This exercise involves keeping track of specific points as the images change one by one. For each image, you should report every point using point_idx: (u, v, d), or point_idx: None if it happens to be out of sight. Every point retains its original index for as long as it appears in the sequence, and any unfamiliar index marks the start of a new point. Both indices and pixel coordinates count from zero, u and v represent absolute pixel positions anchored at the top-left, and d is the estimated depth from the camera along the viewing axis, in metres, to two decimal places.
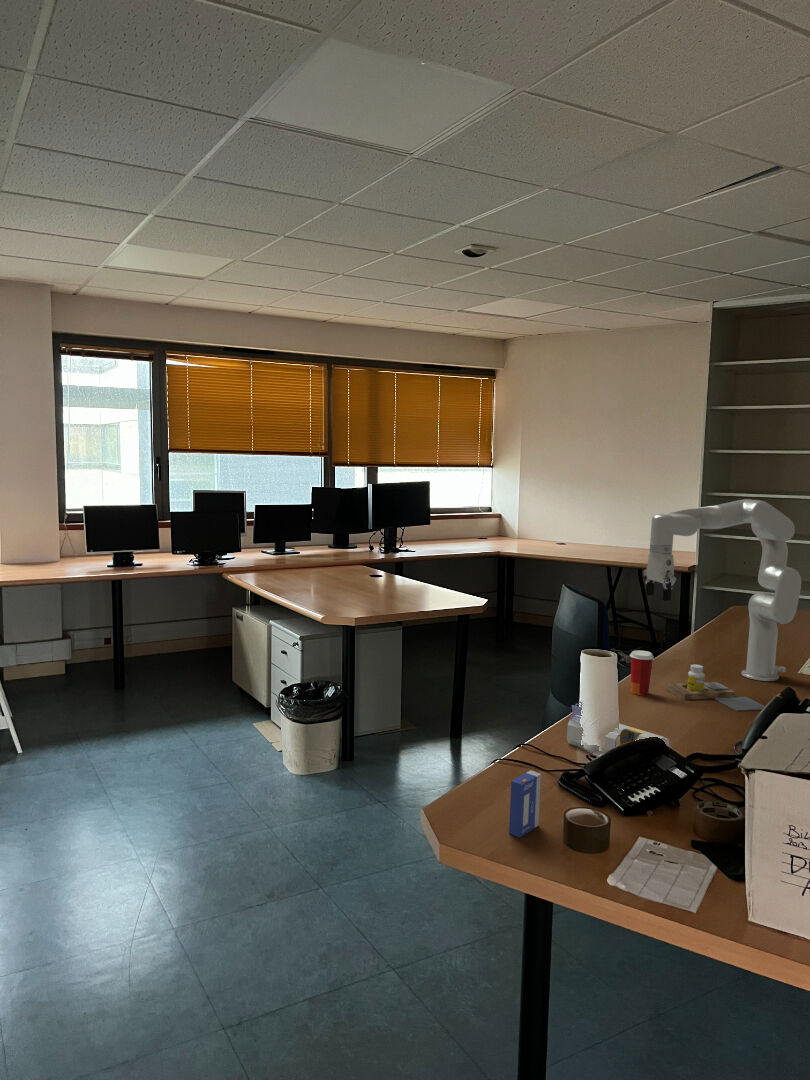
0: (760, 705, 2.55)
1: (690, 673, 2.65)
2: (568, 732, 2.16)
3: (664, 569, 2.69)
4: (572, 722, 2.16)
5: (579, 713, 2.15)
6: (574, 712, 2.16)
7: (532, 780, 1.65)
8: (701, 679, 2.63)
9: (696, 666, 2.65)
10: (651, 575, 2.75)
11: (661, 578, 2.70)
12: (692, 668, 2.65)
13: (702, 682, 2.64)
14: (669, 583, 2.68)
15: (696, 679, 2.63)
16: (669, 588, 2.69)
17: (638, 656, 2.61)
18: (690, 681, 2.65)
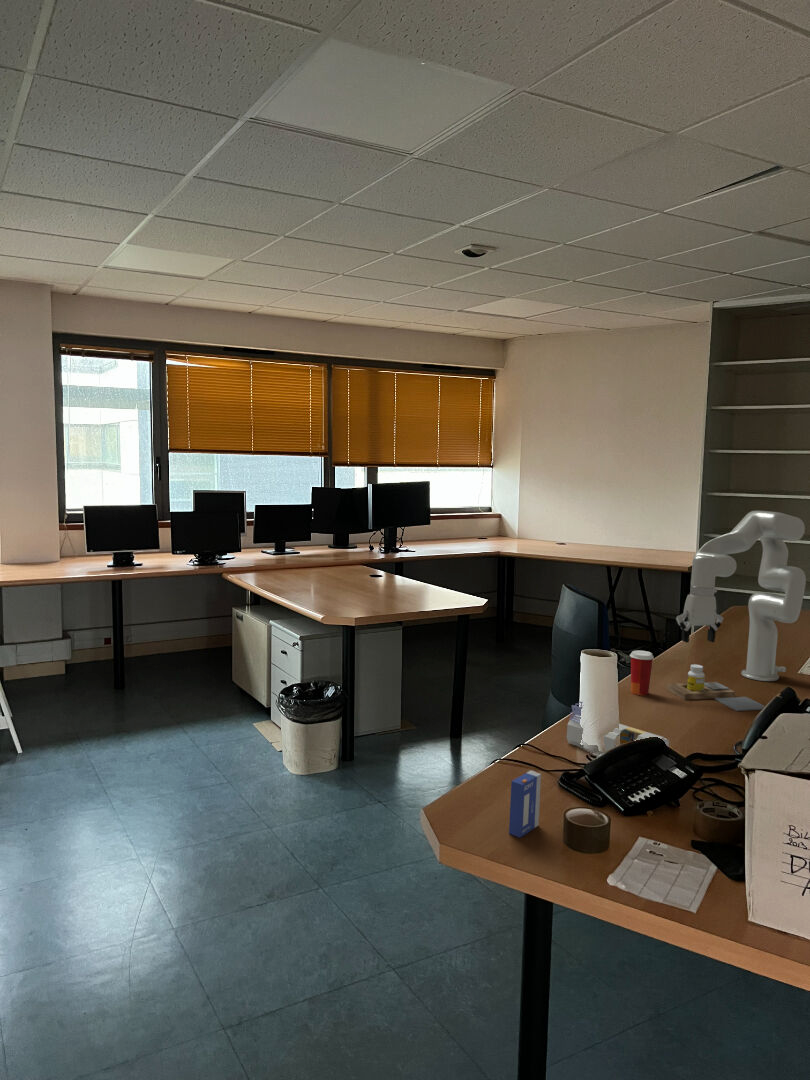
0: (760, 705, 2.55)
1: (690, 673, 2.65)
2: (568, 732, 2.16)
3: None
4: (572, 722, 2.16)
5: (579, 713, 2.15)
6: (574, 712, 2.16)
7: (532, 780, 1.65)
8: (701, 679, 2.63)
9: (696, 666, 2.65)
10: (700, 620, 2.61)
11: (714, 620, 2.62)
12: (692, 668, 2.65)
13: (702, 682, 2.64)
14: (719, 623, 2.64)
15: (696, 679, 2.63)
16: None
17: (638, 656, 2.61)
18: (690, 681, 2.65)
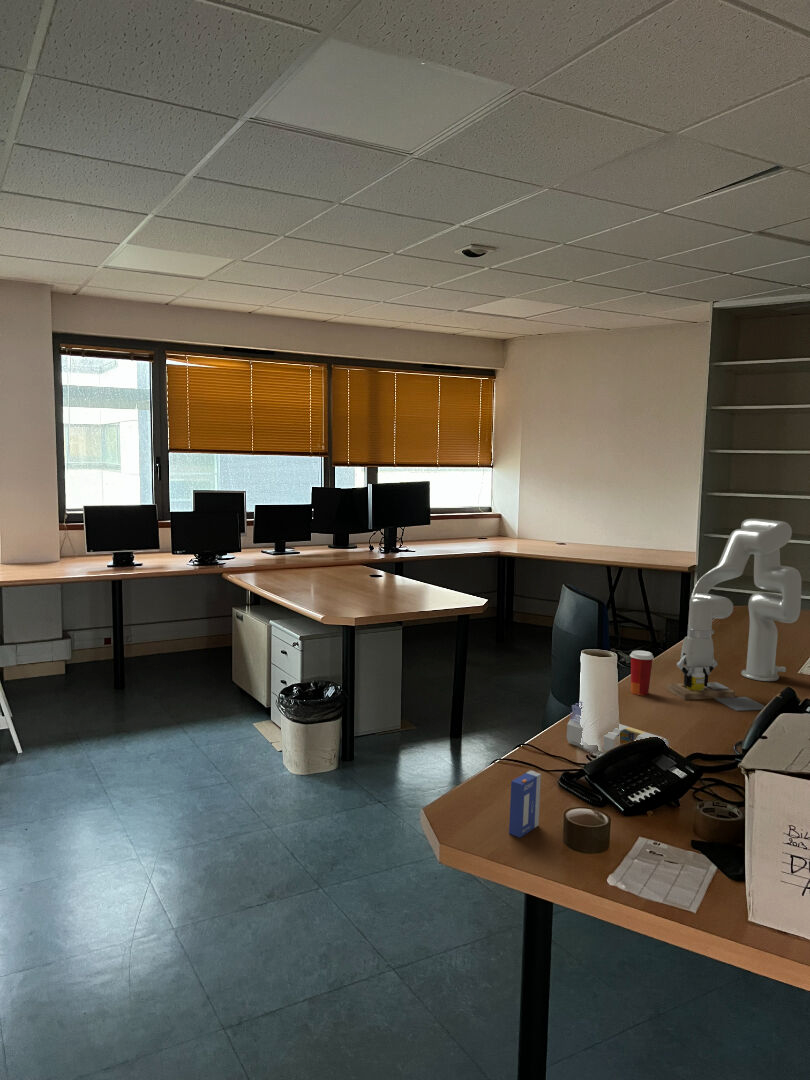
0: (760, 705, 2.55)
1: None
2: (568, 732, 2.17)
3: None
4: (572, 722, 2.16)
5: (579, 713, 2.15)
6: (574, 712, 2.16)
7: (532, 780, 1.65)
8: (701, 679, 2.63)
9: None
10: (697, 662, 2.63)
11: (711, 662, 2.64)
12: None
13: (702, 682, 2.64)
14: (712, 667, 2.66)
15: (696, 679, 2.63)
16: None
17: (638, 656, 2.61)
18: None
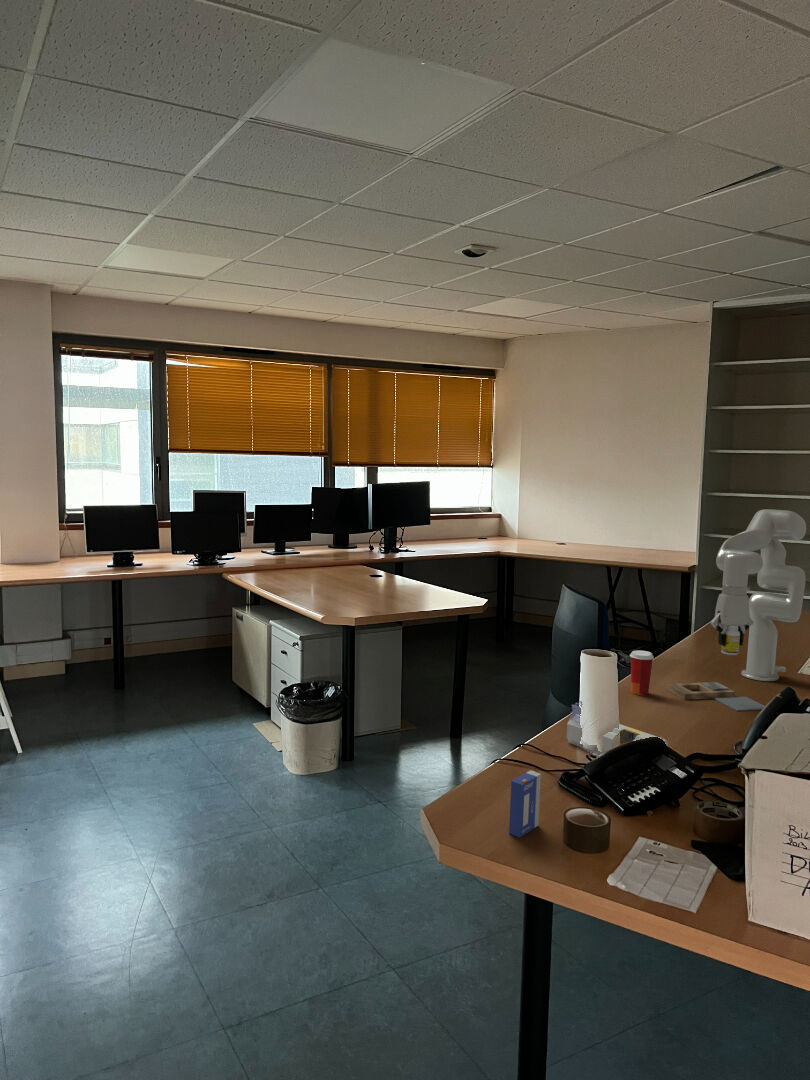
0: (760, 705, 2.55)
1: None
2: (568, 731, 2.17)
3: None
4: (572, 721, 2.17)
5: (579, 712, 2.15)
6: (574, 711, 2.16)
7: (532, 780, 1.65)
8: (736, 637, 2.55)
9: None
10: (732, 620, 2.54)
11: (747, 620, 2.55)
12: None
13: (737, 641, 2.55)
14: (748, 626, 2.57)
15: (730, 637, 2.55)
16: None
17: (638, 656, 2.61)
18: None
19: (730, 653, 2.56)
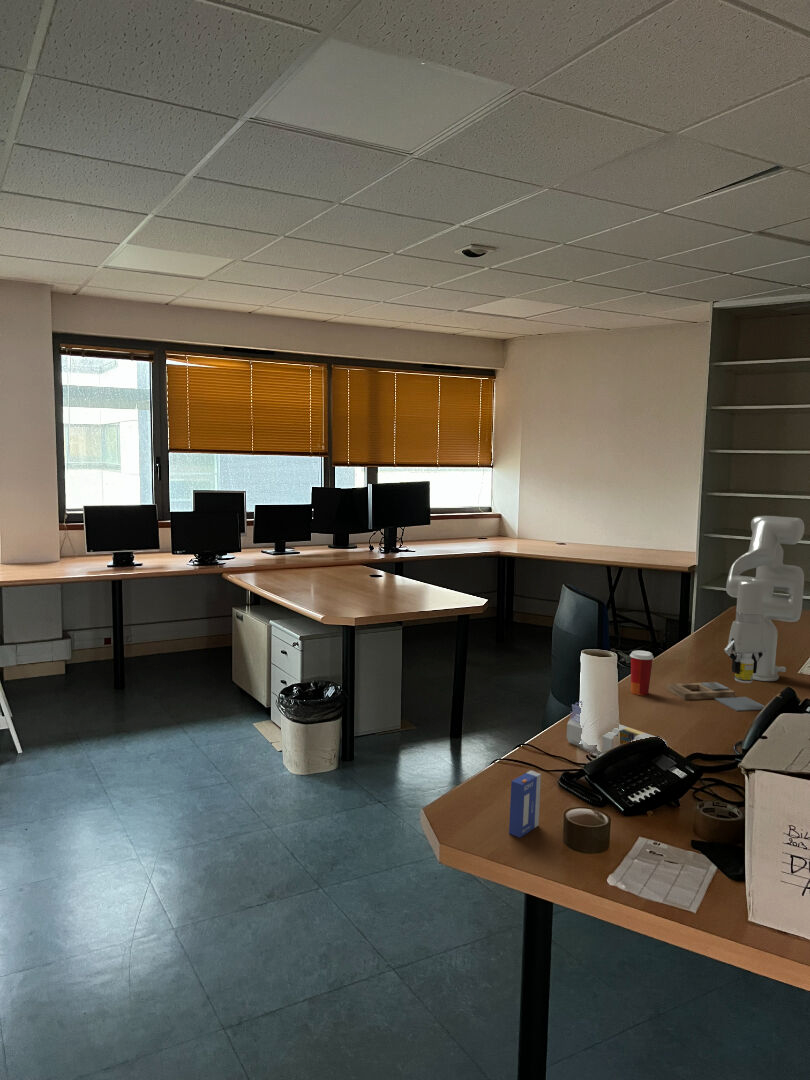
0: (760, 705, 2.55)
1: None
2: (568, 731, 2.17)
3: None
4: (572, 721, 2.17)
5: (579, 712, 2.15)
6: (574, 711, 2.17)
7: (532, 780, 1.65)
8: (750, 665, 2.52)
9: None
10: (746, 648, 2.52)
11: (761, 648, 2.53)
12: (741, 654, 2.54)
13: (751, 668, 2.53)
14: (761, 653, 2.55)
15: (745, 665, 2.52)
16: None
17: (638, 656, 2.61)
18: None
19: (744, 681, 2.53)
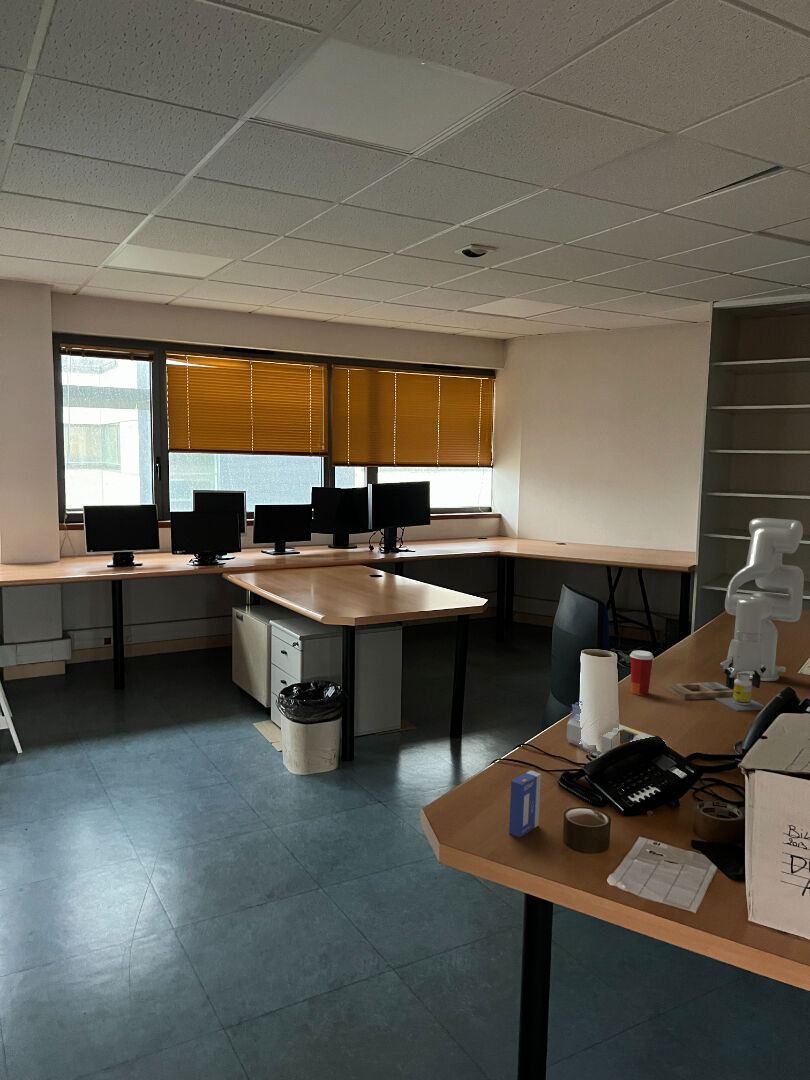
0: (760, 705, 2.55)
1: (737, 681, 2.55)
2: (568, 731, 2.17)
3: None
4: (572, 721, 2.17)
5: (579, 712, 2.15)
6: (574, 711, 2.17)
7: (532, 780, 1.65)
8: (748, 687, 2.53)
9: (743, 674, 2.55)
10: (745, 666, 2.52)
11: (759, 666, 2.54)
12: (739, 676, 2.55)
13: (749, 691, 2.54)
14: (765, 668, 2.56)
15: (743, 687, 2.53)
16: None
17: (638, 656, 2.61)
18: (737, 689, 2.55)
19: (742, 703, 2.54)
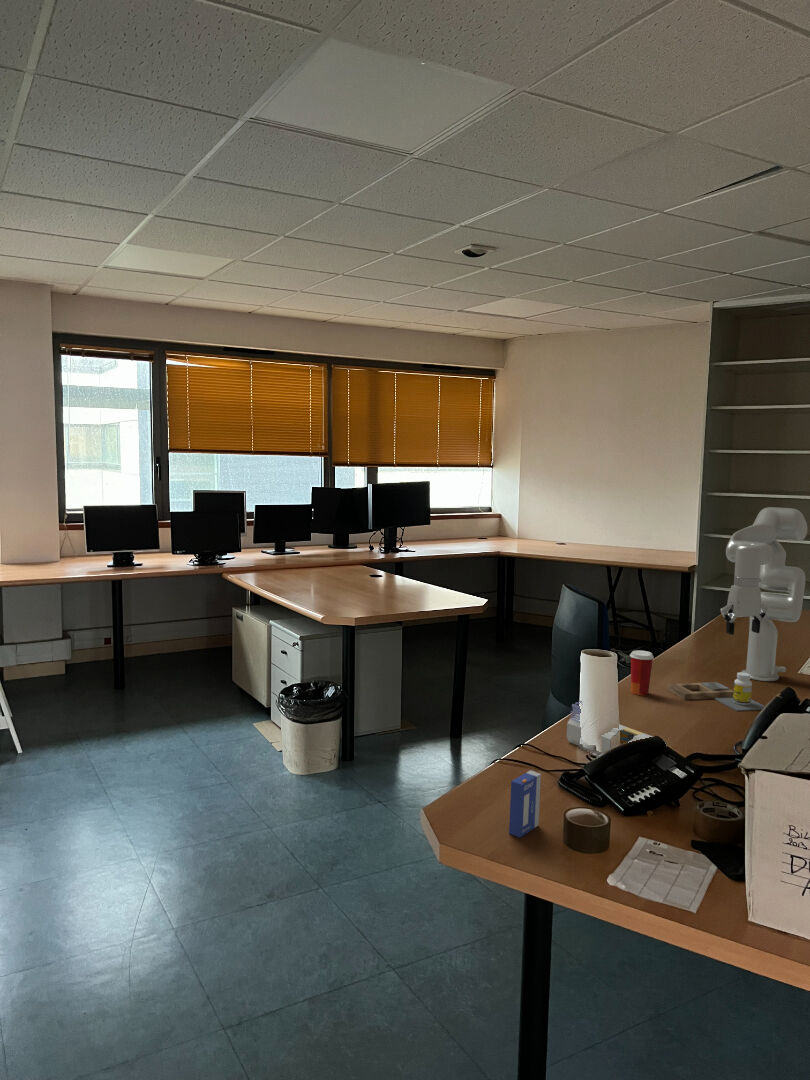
0: (760, 705, 2.55)
1: (737, 681, 2.55)
2: (568, 730, 2.17)
3: None
4: (572, 721, 2.17)
5: (578, 712, 2.16)
6: (574, 711, 2.17)
7: (532, 780, 1.65)
8: (748, 688, 2.53)
9: (743, 674, 2.55)
10: (745, 611, 2.55)
11: (759, 611, 2.56)
12: (739, 676, 2.55)
13: (749, 691, 2.54)
14: (764, 614, 2.58)
15: (743, 687, 2.53)
16: None
17: (638, 656, 2.61)
18: (737, 689, 2.55)
19: (742, 703, 2.54)
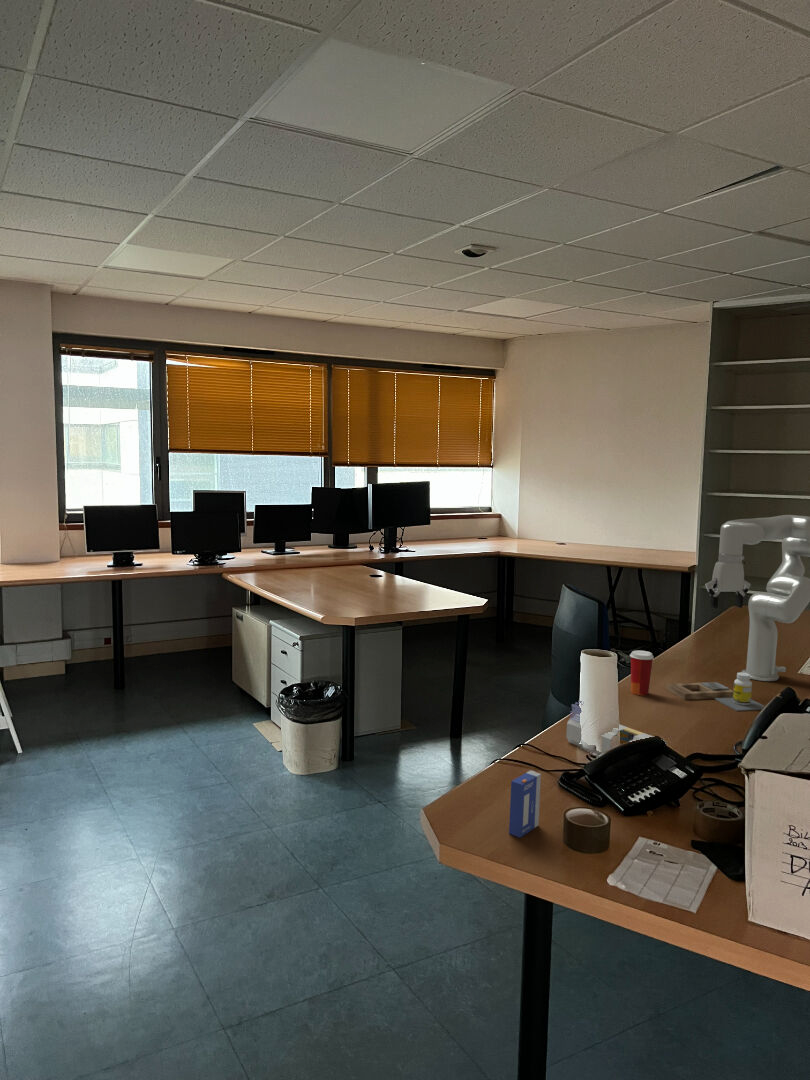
0: (760, 705, 2.55)
1: (737, 681, 2.55)
2: (567, 731, 2.17)
3: None
4: (572, 721, 2.17)
5: (578, 712, 2.15)
6: (574, 711, 2.17)
7: (532, 780, 1.65)
8: (748, 688, 2.53)
9: (743, 674, 2.55)
10: (728, 586, 2.71)
11: (742, 586, 2.72)
12: (739, 676, 2.55)
13: (749, 691, 2.54)
14: (747, 589, 2.74)
15: (743, 687, 2.53)
16: None
17: (638, 656, 2.61)
18: (737, 689, 2.55)
19: (742, 703, 2.54)
